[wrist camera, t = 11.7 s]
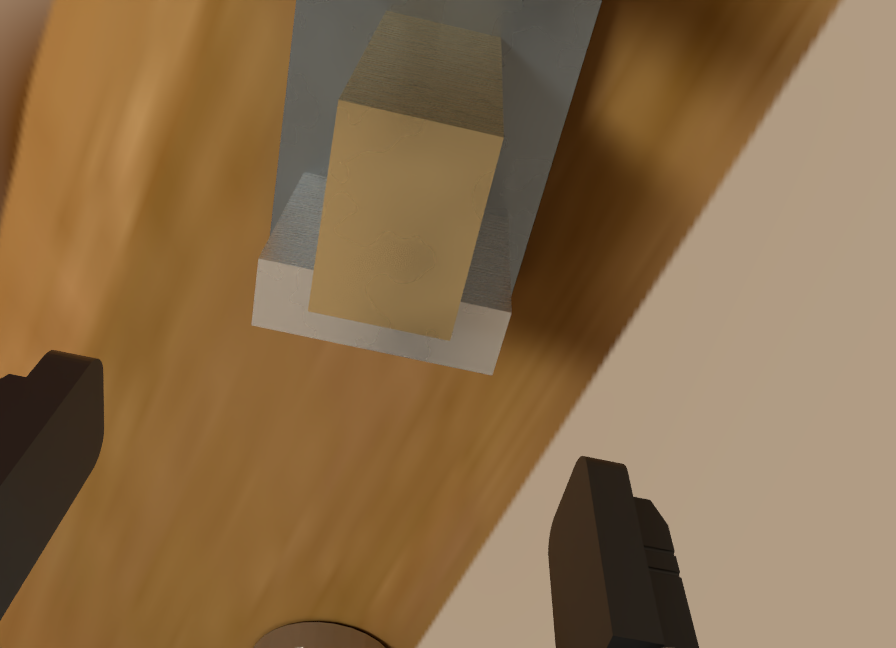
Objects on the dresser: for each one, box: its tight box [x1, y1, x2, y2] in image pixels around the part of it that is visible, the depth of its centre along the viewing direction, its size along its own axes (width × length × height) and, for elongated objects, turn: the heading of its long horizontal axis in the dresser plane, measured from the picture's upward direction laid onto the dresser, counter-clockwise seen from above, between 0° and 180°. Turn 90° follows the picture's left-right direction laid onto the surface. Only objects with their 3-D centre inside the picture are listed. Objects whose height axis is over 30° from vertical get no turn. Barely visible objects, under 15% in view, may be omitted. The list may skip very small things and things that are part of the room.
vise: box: [252, 0, 602, 375], centre depth 26 cm, size 18×10×8 cm, turn 168°
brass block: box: [308, 10, 504, 341], centre depth 25 cm, size 4×6×10 cm, turn 168°
